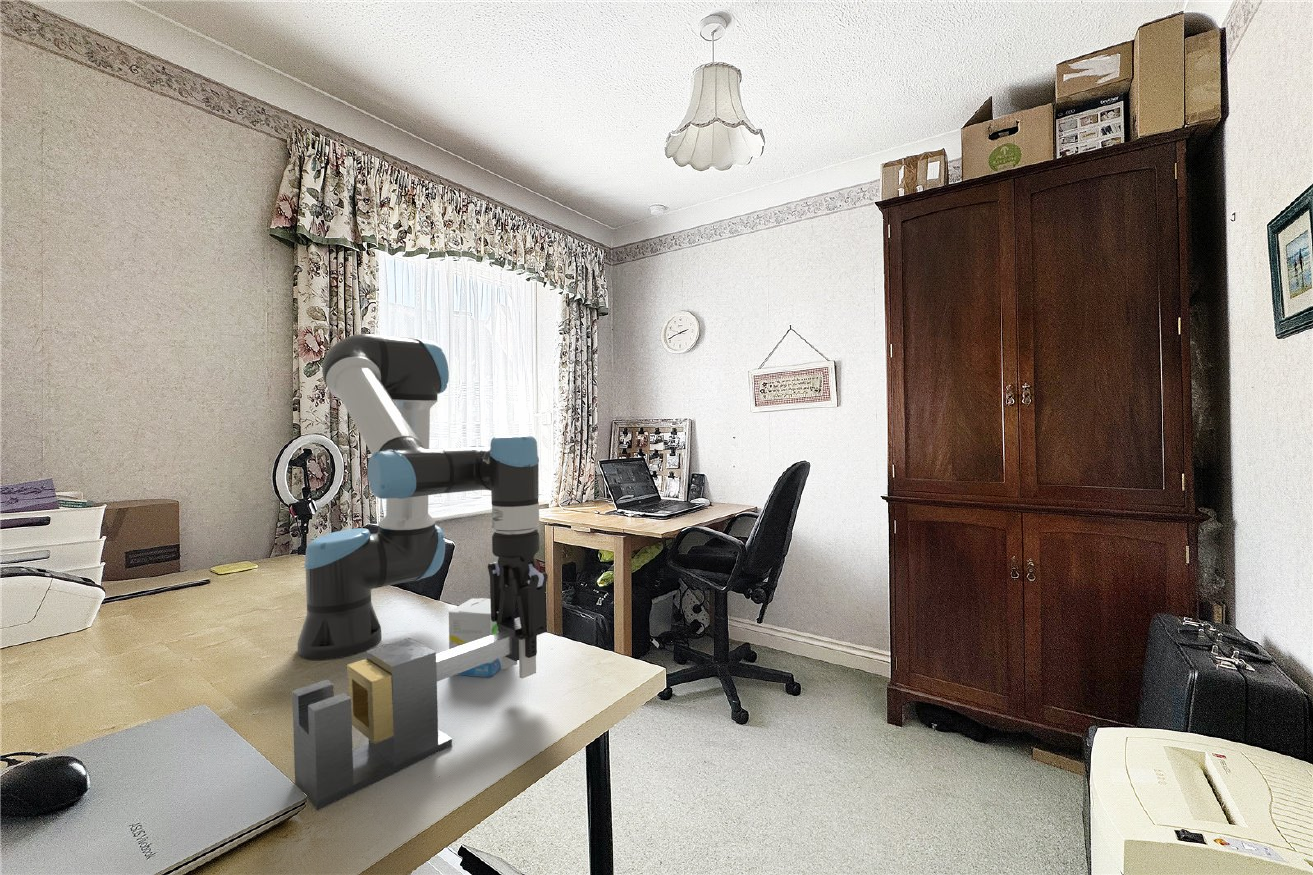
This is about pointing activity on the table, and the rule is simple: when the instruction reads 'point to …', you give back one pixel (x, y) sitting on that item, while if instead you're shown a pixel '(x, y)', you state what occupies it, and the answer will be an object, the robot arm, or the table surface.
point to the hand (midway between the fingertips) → (518, 670)
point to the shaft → (481, 651)
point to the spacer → (371, 700)
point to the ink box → (473, 631)
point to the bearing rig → (342, 771)
